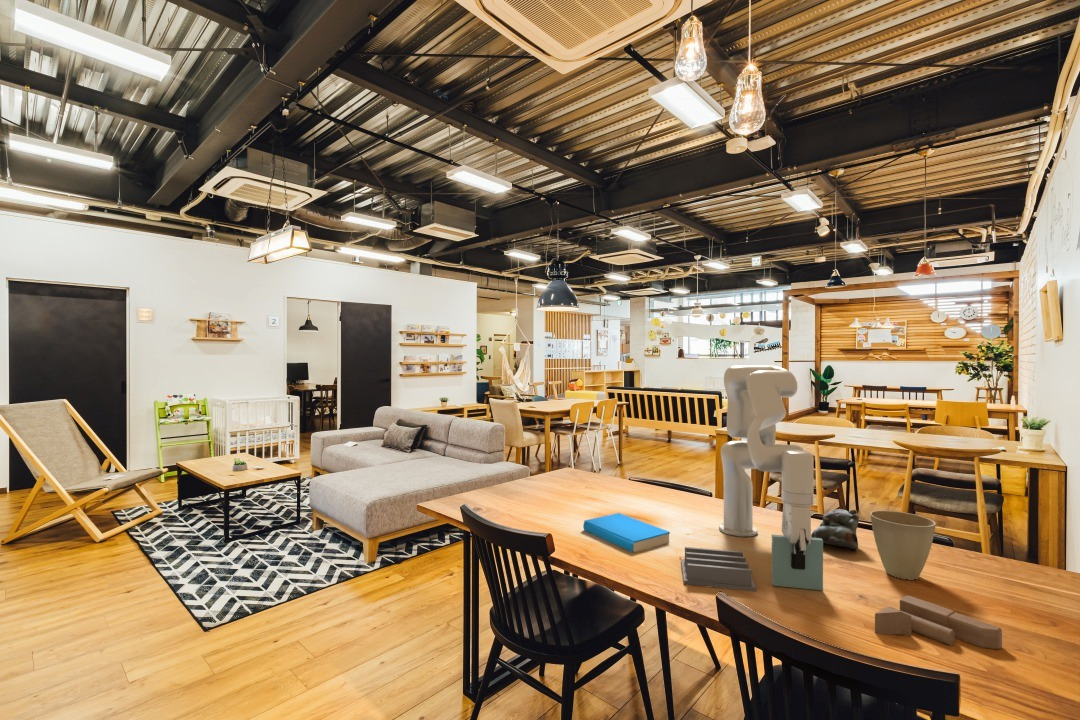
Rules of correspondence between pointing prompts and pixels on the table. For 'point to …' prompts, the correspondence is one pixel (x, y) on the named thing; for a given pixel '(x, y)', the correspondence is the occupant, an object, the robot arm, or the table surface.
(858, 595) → the table surface
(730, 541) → the table surface
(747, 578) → the dish rack
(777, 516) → the table surface
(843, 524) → the grey lumpy mound
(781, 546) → the thin teal board
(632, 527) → the book
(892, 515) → the plant pot
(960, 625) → the wooden block set
